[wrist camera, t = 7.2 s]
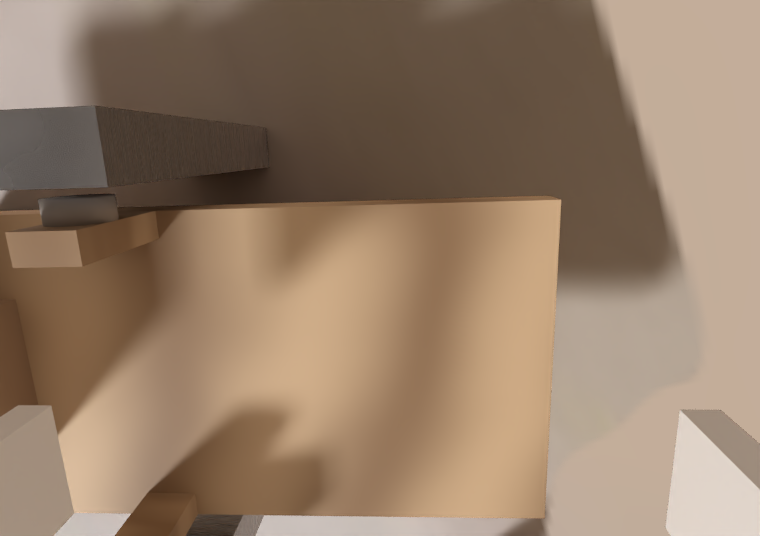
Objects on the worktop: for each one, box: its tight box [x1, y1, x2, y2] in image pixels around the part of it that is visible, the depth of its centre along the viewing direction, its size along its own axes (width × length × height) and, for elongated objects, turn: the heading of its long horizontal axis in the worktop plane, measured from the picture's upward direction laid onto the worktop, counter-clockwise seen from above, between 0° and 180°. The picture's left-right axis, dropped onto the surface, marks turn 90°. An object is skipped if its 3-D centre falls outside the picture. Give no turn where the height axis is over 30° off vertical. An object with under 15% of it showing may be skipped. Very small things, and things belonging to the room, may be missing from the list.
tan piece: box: [0, 194, 561, 536], centre depth 16 cm, size 24×11×9 cm, turn 92°
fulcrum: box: [0, 106, 269, 536], centre depth 17 cm, size 4×15×11 cm, turn 3°
